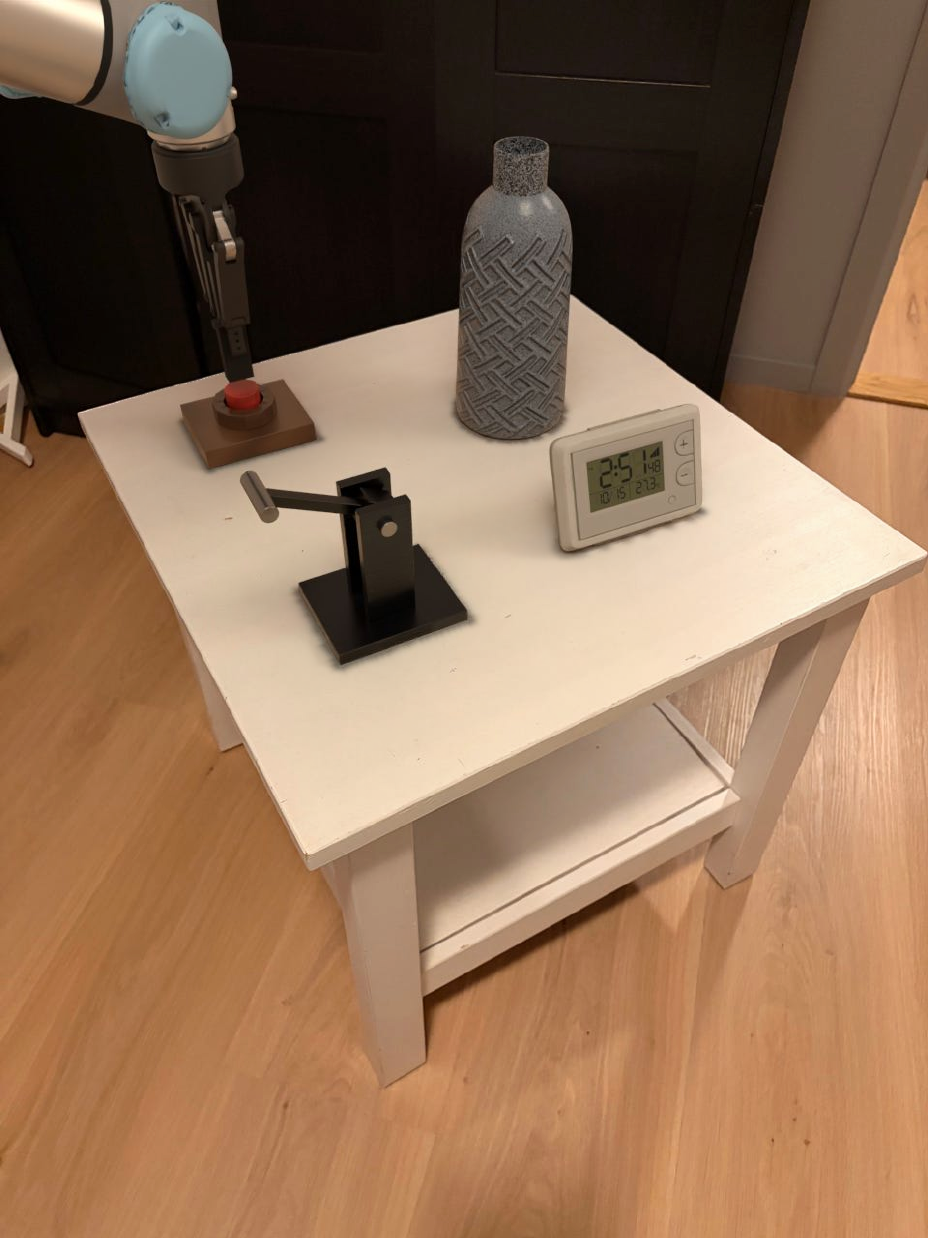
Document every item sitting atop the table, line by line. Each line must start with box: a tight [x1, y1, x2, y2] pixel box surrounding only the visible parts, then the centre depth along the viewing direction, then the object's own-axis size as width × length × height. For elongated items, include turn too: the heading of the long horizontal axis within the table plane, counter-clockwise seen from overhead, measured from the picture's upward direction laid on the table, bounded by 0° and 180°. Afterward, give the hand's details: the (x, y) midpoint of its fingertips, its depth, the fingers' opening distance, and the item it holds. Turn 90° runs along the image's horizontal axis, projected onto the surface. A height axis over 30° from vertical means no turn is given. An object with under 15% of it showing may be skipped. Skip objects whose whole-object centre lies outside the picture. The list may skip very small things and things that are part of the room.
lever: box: [239, 470, 395, 524], centre depth 72 cm, size 12×5×2 cm, turn 117°
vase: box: [455, 136, 574, 440], centre depth 95 cm, size 12×12×28 cm
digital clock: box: [548, 403, 703, 552], centre depth 88 cm, size 16×9×11 cm, turn 103°
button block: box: [179, 378, 317, 470], centre depth 101 cm, size 12×10×4 cm
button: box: [223, 378, 261, 410], centre depth 99 cm, size 4×4×2 cm
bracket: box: [297, 466, 468, 666], centre depth 78 cm, size 12×10×13 cm
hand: (239, 376), depth 97 cm, fingers closed
